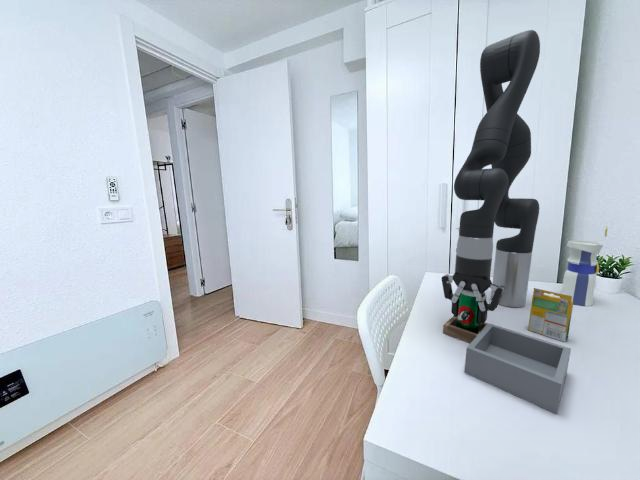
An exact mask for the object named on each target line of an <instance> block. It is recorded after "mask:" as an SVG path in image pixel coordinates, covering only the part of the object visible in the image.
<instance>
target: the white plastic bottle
mask: <svg viewBox="0 0 640 480" xmlns="http://www.w3.org/2000/svg"><path fill="white" fill-rule="evenodd" d="M607 235H608V226H607V225H606V226H605V229H604V238H606V237H607ZM603 246H604V245H602V244H600V243H599V242H596V241H589V240H576V239H575V240H568V242H567V243H566V247H567V248H570V255H569V257H568V258H567V259H566V261H567V262H568V263H567V267H566V270H565V272H564V275H563V280H562V284H561V285H562V286H561V291H560V294H564V295H569V296H572V299H571V301H573V306H574V305H575V306H579V307H591V305H592V306H593V302H594V301H593V300H594V291H595V284H596V275H597V274H598V273H599V271H600V265H599V262H598V260H597V256H600V252H601V250H602V248H603Z"/></svg>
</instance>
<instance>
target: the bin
mask: <svg viewBox="0 0 640 480" xmlns="http://www.w3.org/2000/svg"><path fill="white" fill-rule="evenodd" d="M465 349H466V350H465V351H466V352H465V360H464V361H465V362H464V373H465V374H467V375H469V376H472V377H474V378H476V379H478V380H481V381H482V382H485V383H487V384H489V385H491V386H494V387H495V388H498V389H501V390H502V391H505V392H507V393H509V394H512V395H513V396H515V397H518V398H520V399H523V400H524V401H527V402H529V403H532V404H533V405H535V406H538V407H540V408H542V409H545V410H546V411H549V412H551V413H553V414H555V415H557V414H558V410H559V407H560V402H561V398H562V394H563V390H564V387H565V383H566V377H567V374H568V369H569V368H568V367H569V362H570V356H571V350H572V348H571V347H567V346H564V345H561V344H558V343H554V342H551V341H548V340H545V339H541V338H539V337H535V336H532V335H528V334H525V333H521V332H518V331H515V330H512V329H510V328H509V329H508V328H506V327H504V326H503V327H502V326H500V325H496V324H493V323H488V325H487V326H486V327H485V328H484V329H483V330H482V331H481V332H480V333H479V335H478V336H477V337H476V338H475V339H474V340H473V341H472V342H471V343H468V345H467V346H466V348H465Z"/></svg>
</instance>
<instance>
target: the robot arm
mask: <svg viewBox="0 0 640 480" xmlns="http://www.w3.org/2000/svg"><path fill="white" fill-rule="evenodd" d="M540 54H541V41H540V37H539V35H538V32H537V31H536V30H534V29H530V30H525V31H521V32H519V33H516V34H514V35H511V36H509V37H507V38H504V39H501V40H499V41H495V42H494V43H491V44H489V45H487V46H486V47H485V48H484V49H483V51H482V53H481V54H480V62H479V63H480V64H479V71H480V73H479V74H480V80H481V87H482V92H483V96H484V97H483V98H484V102H485V108H486V113H485V114H484V115H483V117H482V119H480V122H479V123H478V125H477V128H476V131H475V134H474V137H473V141H472V142H473V143H472V146H471V151H470V153H469V154H468V156H467V157H466V160H465V161H464V163H463V165H462V166H461V168H460V170H459V171H458V173H457V175H456V177H455V180H454V183H453V190H454V193H455V196H456V197H457V198H458V199H460V200H463V201H483V203H482V205H481V206H480V207H479V208H477V209H472V210H471V209H470V210H466V211H464V212H462V213H461V215H460V218H459V228H458V229H459V230H458V239H457V242H456V249H455V253H456V255H455V267H454V274H452V275H450V274H448V273H447V274H444V275H443V276H442V277H441V279H440V280H441V284H442V289H443V290H442V291H443V297H444V299H446V300H450V302H451V310H450V311H451V314H452V317H453V316H454V317H457V310H458V298H459V295H460V293H461V292H462V290H464V289H466V290H470V291H473V292H474V295H475V296H476V301H477V302H478V305H479V308H480V310H479V313H478V324H479V325H482V324H483V323H486V321H487V320H488V311H490V312H494V311H495V310H496V309H497V308H498V306H499V305H501V306H503V307H511V308H524V307H525V306H526V302H527V294H528V287H529V280H530V271H531V264H532V256H533V251H534V250H533V248H534V243H535V236H536V230H537V225H538V220H539V217H540V216H539V215H540V203H539V201H538V200H537V199H536V198H523V197H522V198H514V197H513V198H511V197H509V191H510V189H511V186H512V184H513V183H514V181H515V180H516V178H517V177H518V176H519V174H520V173H521V171H522V170H523V169H524V168H525V166H526V165H527V163H528V162H529V160H530V158H531V155H532V133H531V129H530V126H529V125H528V124H527V122H526V121H525V120H524V119H523V118H522V117H521V116H520V115H519V114H518V112H519V109H520V107H521V105H522V103H523V100H524V98H525V95H526V93H527V91H528V89H529V87H530V84H531V81H532V79H533V77H534V75H535V73H536V70H537V67H538V63H539V59H540ZM504 83H508V85H507V87H506V88H505V89H503V84H504ZM488 166H491V168H485V167H488ZM495 225H496V227H498V228H502V229H503V228H504V229H515V230H517V229H518V230H519V232H518V234H516V235H513V236H510V237H505V238H500V239H498V240H497V241H496V244H495V255H494V265H493V273H492V274H493V275H492V280H491V271H492V262H493V253H494V228H495ZM453 282H454V284H455V285H456V289H455V292H454V293H453V287H452V283H453ZM488 289H491V294H490V300H491V301H490V303H488V300H487V293H486V291H487V290H488ZM481 294H482V297H481Z"/></svg>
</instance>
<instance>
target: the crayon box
mask: <svg viewBox="0 0 640 480" xmlns="http://www.w3.org/2000/svg"><path fill="white" fill-rule="evenodd" d="M532 293H533V294H532V298H531V305H530V313H529V321H528V326H527V331H529V332H533V333H537V334H539V335H542V336H546V337H548V338H552V339H555V340H558V341H560V342H564V343H565V342H566V341H568V338H569V334H570V332H569V331H570V325H571V321H572V314H573V307H574V305H573V301H571V299H572V296H569V295H564V294H561V293H558V292H554V291H549V290H545V289H540V288H536V287H534V288H533V291H532ZM551 294H553V295H554V296H553V295H551Z"/></svg>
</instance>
